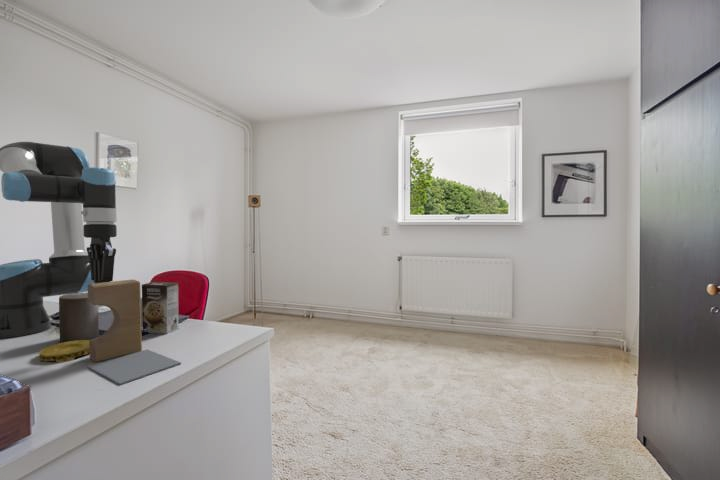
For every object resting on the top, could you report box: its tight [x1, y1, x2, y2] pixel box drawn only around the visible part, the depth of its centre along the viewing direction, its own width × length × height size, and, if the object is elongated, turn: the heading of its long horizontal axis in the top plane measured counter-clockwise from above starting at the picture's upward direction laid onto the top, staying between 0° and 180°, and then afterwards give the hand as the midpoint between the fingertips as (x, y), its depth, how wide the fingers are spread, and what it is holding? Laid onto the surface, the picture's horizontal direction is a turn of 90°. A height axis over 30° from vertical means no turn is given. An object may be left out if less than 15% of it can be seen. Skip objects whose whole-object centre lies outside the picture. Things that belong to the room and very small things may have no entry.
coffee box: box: [141, 281, 180, 335], centre depth 117 cm, size 9×6×16 cm
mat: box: [87, 349, 182, 386], centre depth 88 cm, size 17×14×1 cm
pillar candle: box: [58, 291, 100, 343], centre depth 108 cm, size 10×10×15 cm
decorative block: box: [87, 279, 143, 363], centre depth 95 cm, size 11×6×20 cm, turn 136°
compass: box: [38, 340, 90, 363], centre depth 96 cm, size 12×12×2 cm
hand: (102, 305), depth 99 cm, fingers closed
